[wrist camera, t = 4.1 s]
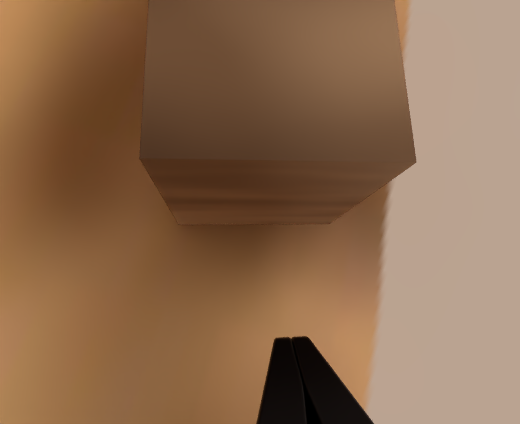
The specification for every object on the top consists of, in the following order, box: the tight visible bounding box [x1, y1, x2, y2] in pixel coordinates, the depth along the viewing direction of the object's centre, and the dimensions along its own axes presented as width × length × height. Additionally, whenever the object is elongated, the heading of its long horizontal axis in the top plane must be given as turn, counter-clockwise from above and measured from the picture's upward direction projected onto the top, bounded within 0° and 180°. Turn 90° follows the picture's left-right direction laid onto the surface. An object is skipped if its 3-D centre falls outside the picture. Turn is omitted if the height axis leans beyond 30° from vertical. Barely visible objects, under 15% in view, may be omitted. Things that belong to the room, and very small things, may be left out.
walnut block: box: [140, 0, 416, 225], centre depth 14 cm, size 14×7×8 cm, turn 1°
